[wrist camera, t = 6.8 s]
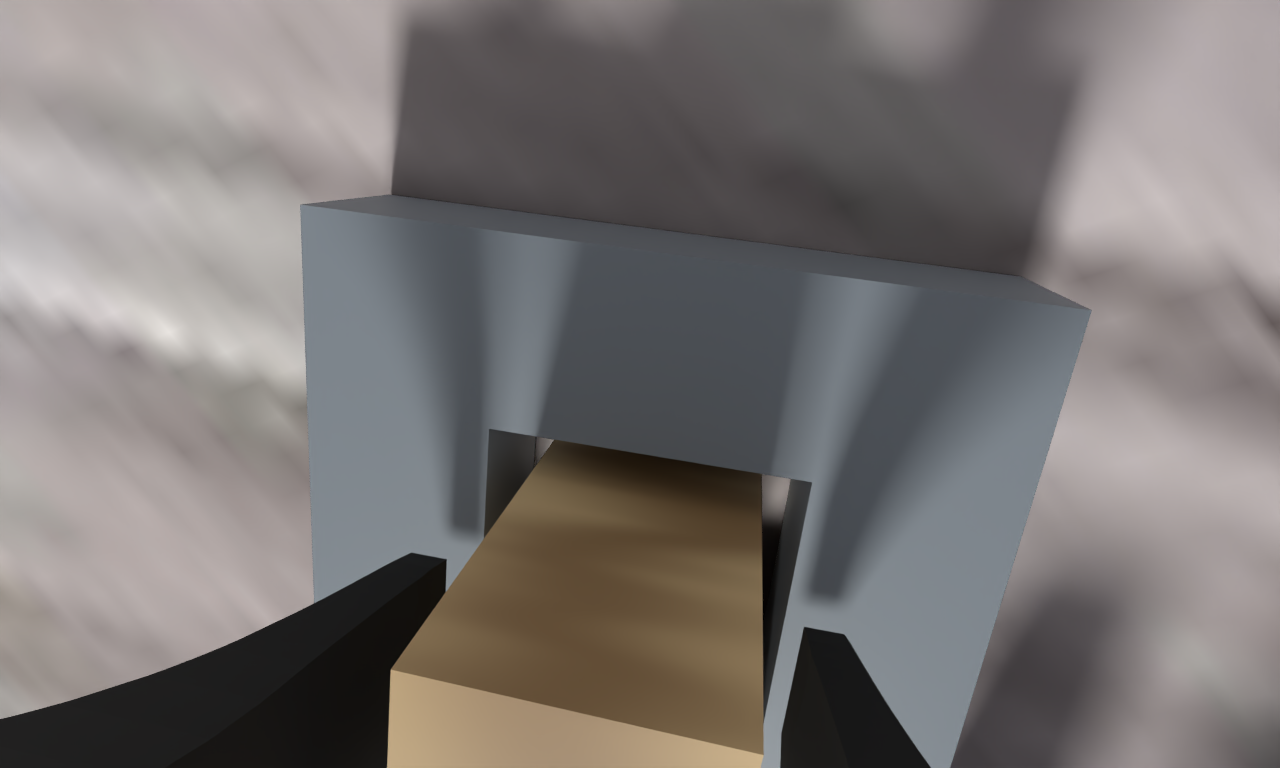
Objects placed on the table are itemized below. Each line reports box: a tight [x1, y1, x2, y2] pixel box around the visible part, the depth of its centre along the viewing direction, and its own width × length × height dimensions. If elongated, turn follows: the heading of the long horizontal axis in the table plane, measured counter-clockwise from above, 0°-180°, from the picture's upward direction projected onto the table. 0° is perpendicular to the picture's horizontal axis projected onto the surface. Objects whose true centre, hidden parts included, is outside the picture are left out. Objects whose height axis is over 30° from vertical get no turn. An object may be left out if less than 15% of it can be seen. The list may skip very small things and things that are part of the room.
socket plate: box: [300, 195, 1092, 768], centre depth 14 cm, size 12×12×3 cm
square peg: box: [387, 440, 764, 768], centre depth 12 cm, size 4×4×8 cm
